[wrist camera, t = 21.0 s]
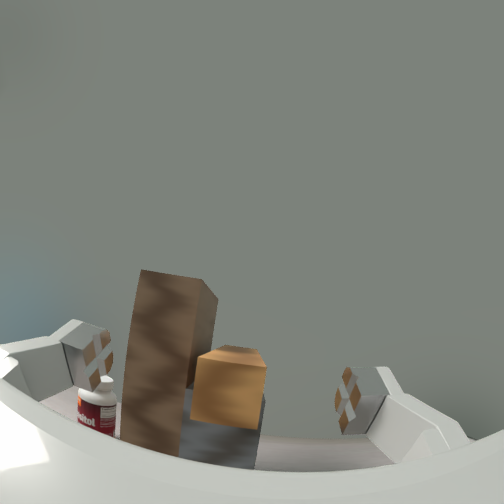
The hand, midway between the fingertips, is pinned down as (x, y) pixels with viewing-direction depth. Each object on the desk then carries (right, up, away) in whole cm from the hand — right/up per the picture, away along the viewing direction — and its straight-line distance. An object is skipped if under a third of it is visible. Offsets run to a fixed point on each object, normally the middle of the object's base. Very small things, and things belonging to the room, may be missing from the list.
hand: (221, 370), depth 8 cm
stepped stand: (-7, -25, +15) cm, 30 cm away
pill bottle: (-23, -25, +21) cm, 40 cm away
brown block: (-1, -9, +15) cm, 18 cm away
